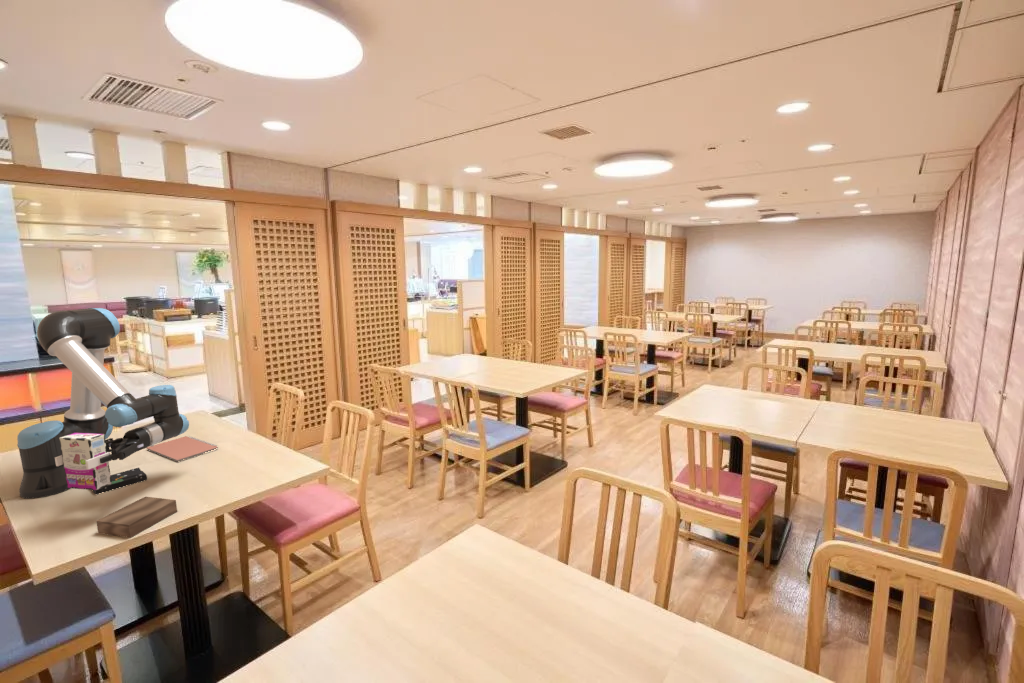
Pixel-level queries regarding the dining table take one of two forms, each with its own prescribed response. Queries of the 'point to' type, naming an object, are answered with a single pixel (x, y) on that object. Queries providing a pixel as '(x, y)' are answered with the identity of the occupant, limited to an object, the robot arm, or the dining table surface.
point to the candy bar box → (74, 457)
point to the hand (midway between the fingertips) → (71, 463)
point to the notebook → (182, 448)
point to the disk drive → (124, 479)
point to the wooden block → (136, 517)
